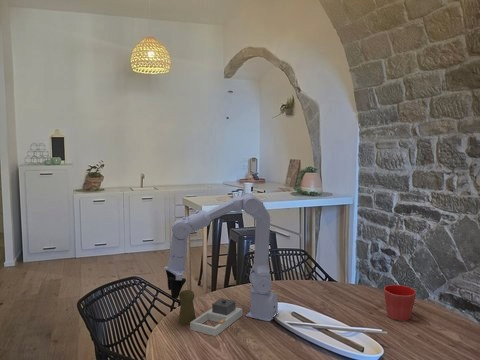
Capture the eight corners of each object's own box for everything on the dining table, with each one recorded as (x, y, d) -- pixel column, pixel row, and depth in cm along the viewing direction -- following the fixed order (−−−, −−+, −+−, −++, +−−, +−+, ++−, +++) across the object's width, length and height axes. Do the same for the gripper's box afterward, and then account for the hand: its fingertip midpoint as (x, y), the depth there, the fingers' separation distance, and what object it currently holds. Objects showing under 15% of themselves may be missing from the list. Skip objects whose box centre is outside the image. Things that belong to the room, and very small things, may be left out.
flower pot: (419, 315, 146) (420, 289, 146) (408, 325, 139) (408, 298, 138) (390, 307, 154) (391, 282, 153) (377, 316, 146) (378, 290, 145)
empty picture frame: (242, 315, 148) (242, 298, 148) (215, 336, 133) (215, 317, 132) (219, 310, 153) (218, 293, 152) (190, 329, 137) (189, 311, 137)
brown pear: (193, 326, 140) (192, 295, 139) (176, 324, 141) (175, 293, 140) (198, 318, 146) (197, 288, 145) (182, 317, 147) (181, 287, 146)
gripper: (163, 248, 146) (158, 286, 147) (169, 260, 133) (164, 301, 134) (182, 249, 149) (178, 286, 150) (190, 261, 135) (185, 301, 136)
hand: (173, 293), depth 142 cm, fingers open, 7 cm apart
